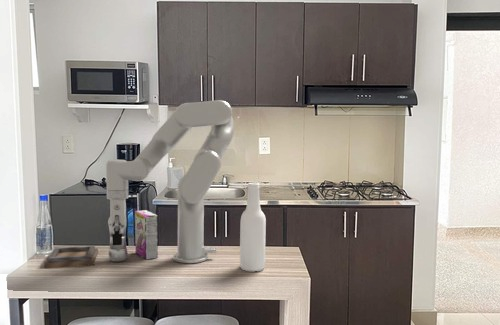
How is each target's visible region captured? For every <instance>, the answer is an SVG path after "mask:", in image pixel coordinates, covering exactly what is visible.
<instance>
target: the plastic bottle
mask: <svg viewBox="0 0 500 325" xmlns="http://www.w3.org/2000/svg"><path fill="white" fill-rule="evenodd" d="M127 223H128V220H127V218H126V226H125V227H124V226H122V225H121V234H122V245H113V240H112V234H113V227H112V226H111V215H110V216H109V217H108V220H107V224H108V230H109V249H108V257H109V260H110V261H112V262H123V261H125V260H127V258H128V248H127V242H126V238H127V236H126V235H127V233H126V231H127ZM114 225H115V221H114ZM119 225H120V224H119Z"/></svg>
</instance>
